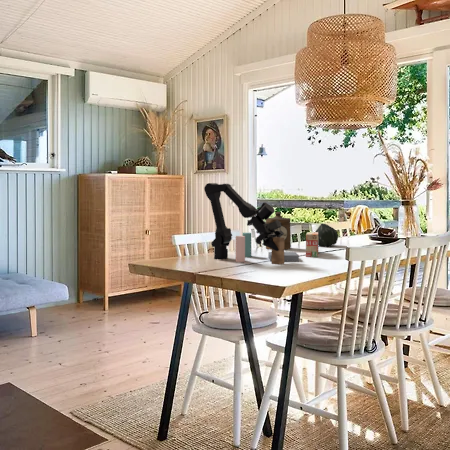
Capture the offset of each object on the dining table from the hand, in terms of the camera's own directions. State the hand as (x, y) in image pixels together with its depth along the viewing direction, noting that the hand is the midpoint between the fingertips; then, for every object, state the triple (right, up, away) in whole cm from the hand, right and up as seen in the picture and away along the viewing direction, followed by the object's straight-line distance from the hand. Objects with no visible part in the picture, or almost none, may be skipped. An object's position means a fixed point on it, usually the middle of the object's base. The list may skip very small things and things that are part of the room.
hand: (280, 250), depth 263 cm
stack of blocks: (+21, -4, +36) cm, 42 cm away
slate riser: (+3, -6, +15) cm, 16 cm away
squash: (+36, -1, +78) cm, 86 cm away
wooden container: (+5, -2, +65) cm, 65 cm away
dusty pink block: (-19, -6, +8) cm, 22 cm away
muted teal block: (-15, -5, +28) cm, 32 cm away
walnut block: (-1, -7, +1) cm, 7 cm away
